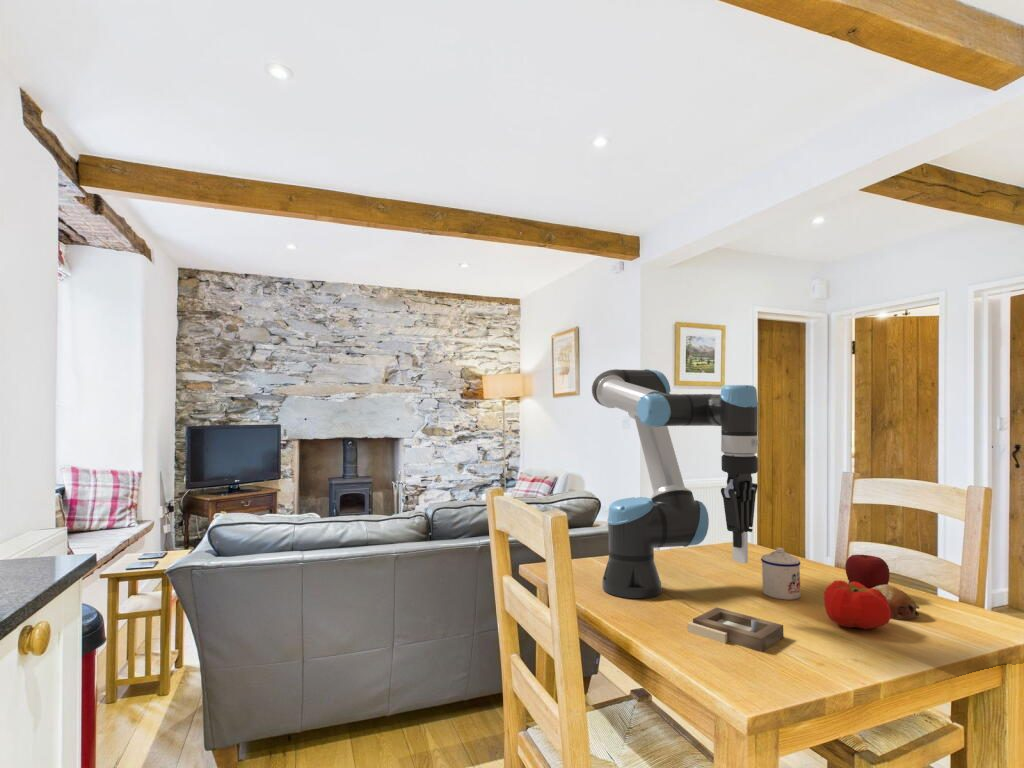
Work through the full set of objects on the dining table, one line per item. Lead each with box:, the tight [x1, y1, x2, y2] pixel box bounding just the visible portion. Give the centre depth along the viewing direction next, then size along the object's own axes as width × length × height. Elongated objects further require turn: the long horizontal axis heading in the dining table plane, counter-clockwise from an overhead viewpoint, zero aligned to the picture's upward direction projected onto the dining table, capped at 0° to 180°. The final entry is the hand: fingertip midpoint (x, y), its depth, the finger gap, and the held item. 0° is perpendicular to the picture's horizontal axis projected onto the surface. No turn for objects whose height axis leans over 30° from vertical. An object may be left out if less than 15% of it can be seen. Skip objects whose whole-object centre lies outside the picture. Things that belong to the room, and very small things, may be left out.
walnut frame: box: [692, 607, 784, 653], centre depth 113 cm, size 14×10×2 cm
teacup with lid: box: [760, 547, 801, 601], centre depth 143 cm, size 12×9×12 cm
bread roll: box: [873, 584, 920, 621], centre depth 129 cm, size 10×10×8 cm
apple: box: [845, 554, 890, 589], centre depth 142 cm, size 10×10×10 cm
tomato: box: [823, 579, 891, 630], centre depth 121 cm, size 14×13×9 cm
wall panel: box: [686, 620, 758, 644], centre depth 114 cm, size 22×16×5 cm
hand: (740, 561), depth 123 cm, fingers closed
